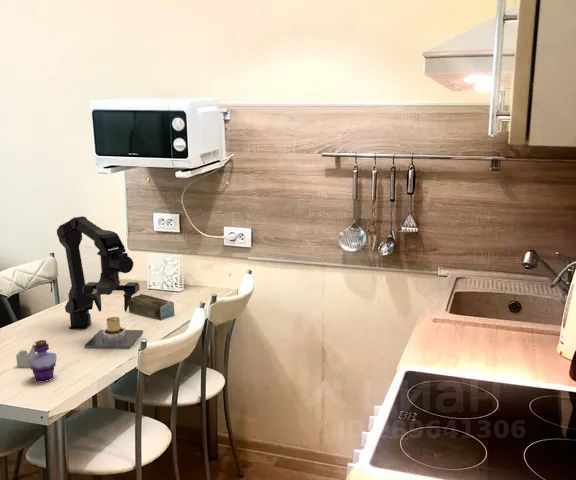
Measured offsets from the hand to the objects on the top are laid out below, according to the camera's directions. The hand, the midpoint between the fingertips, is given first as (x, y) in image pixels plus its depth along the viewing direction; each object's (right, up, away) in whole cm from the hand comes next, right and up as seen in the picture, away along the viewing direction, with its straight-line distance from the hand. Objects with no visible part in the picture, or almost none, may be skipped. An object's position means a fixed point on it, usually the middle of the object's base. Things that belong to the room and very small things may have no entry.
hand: (112, 311), depth 222 cm
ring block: (0, -11, +2) cm, 11 cm away
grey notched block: (-21, -16, -20) cm, 33 cm away
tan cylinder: (0, -10, +2) cm, 10 cm away
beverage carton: (+7, -5, +31) cm, 32 cm away
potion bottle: (-13, -17, -29) cm, 36 cm away
